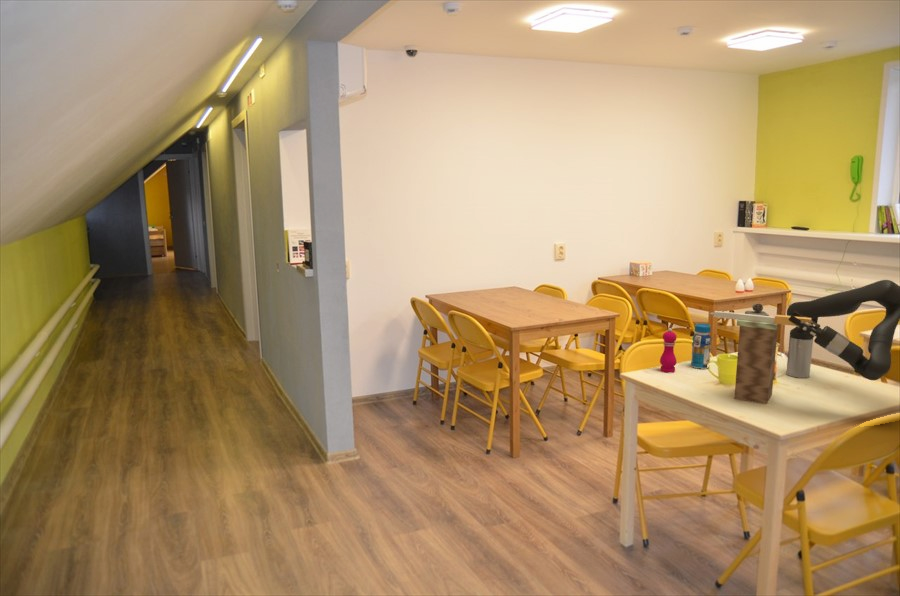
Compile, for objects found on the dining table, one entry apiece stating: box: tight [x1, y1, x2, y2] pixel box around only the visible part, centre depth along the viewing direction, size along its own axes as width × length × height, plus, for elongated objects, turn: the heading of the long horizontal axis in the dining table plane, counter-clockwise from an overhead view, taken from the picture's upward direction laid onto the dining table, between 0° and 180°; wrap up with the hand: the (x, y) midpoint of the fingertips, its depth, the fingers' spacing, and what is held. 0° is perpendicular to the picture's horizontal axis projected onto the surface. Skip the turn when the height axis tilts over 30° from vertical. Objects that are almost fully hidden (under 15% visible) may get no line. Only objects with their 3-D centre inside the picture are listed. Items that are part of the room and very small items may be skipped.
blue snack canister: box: [690, 323, 712, 370], centre depth 304 cm, size 8×8×20 cm
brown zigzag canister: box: [733, 320, 781, 405], centre depth 262 cm, size 14×15×32 cm
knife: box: [709, 310, 811, 327], centre depth 255 cm, size 36×3×3 cm, turn 57°
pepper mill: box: [659, 327, 677, 373], centre depth 299 cm, size 7×7×20 cm
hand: (791, 315), depth 248 cm, fingers open, 8 cm apart
